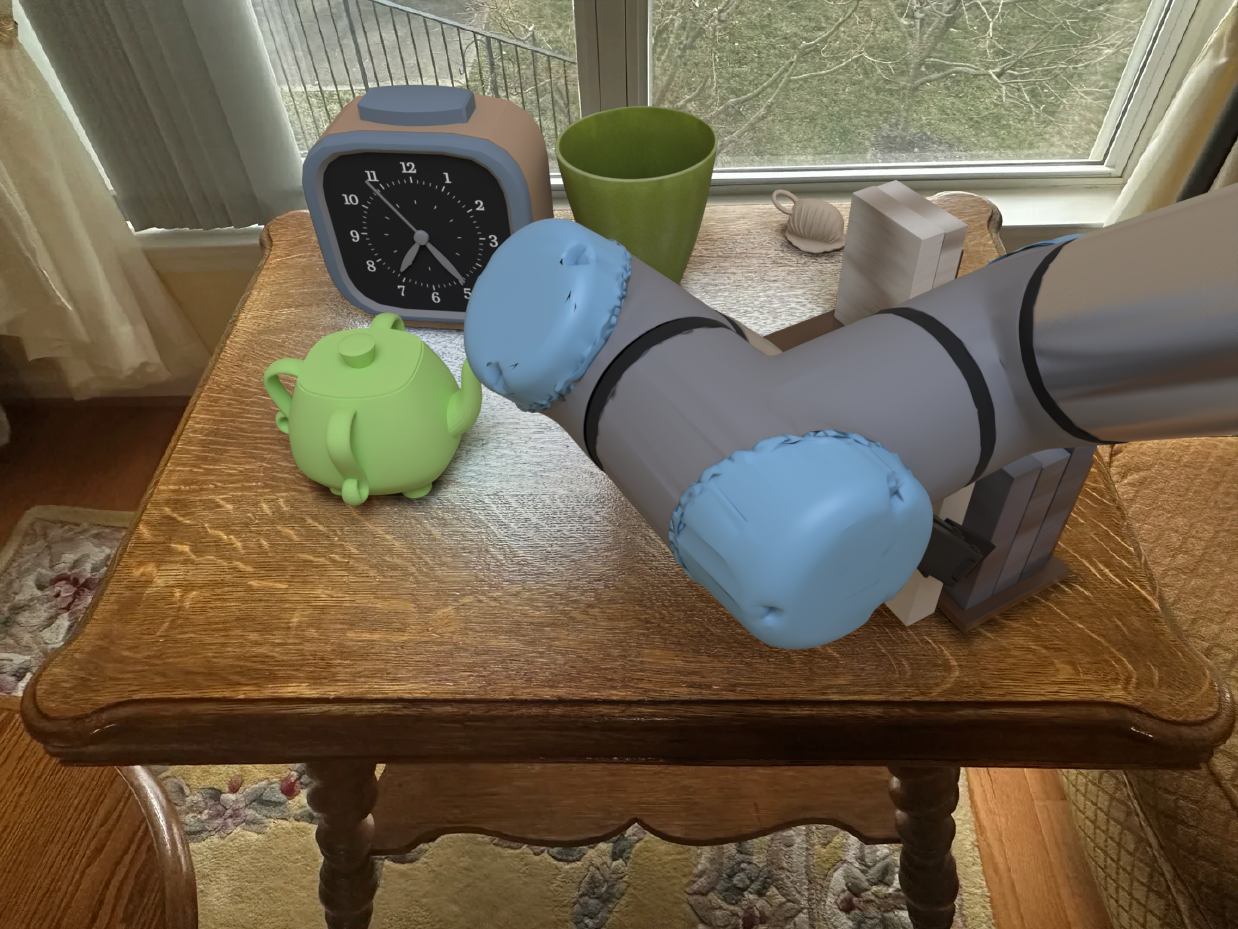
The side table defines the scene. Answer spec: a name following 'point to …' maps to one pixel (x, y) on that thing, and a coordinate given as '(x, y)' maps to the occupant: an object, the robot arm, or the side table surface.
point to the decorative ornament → (812, 224)
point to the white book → (924, 592)
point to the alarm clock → (422, 196)
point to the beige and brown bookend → (886, 258)
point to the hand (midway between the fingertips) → (925, 510)
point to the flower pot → (640, 180)
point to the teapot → (373, 411)
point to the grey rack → (1018, 533)
